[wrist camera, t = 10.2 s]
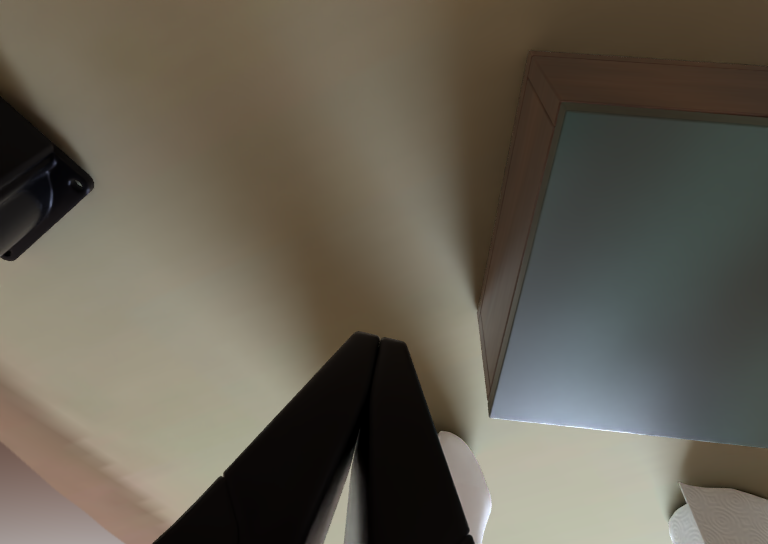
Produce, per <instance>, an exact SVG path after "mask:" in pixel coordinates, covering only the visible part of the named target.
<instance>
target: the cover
mask: <svg viewBox="0 0 768 544" xmlns="http://www.w3.org/2000/svg"><path fill="white" fill-rule="evenodd" d="M488 412H489V417H490V418H497V419H506V420H515V421H524V422H533V423H542V424H551V425H560V426H569V427H579V428H588V429H597V430H606V431H615V432H624V433H633V434H642V435H651V436H660V437H669V438H678V439H688V440H697V441H706V442H715V443H724V444H733V445H742V446H751V447H760V448H768V118H764V117H751V116H739V115H726V114H713V113H700V112H687V111H675V110H662V109H649V108H636V107H624V106H611V105H598V104H585V103H572V102H562V103H561V106H560V110H559V114H558V118H557V122H556V126H555V130H554V134H553V138H552V143H551V147H550V151H549V155H548V159H547V163H546V167H545V171H544V175H543V179H542V183H541V188H540V192H539V196H538V200H537V204H536V208H535V212H534V216H533V220H532V224H531V229H530V233H529V237H528V241H527V245H526V249H525V253H524V257H523V261H522V265H521V270H520V274H519V278H518V282H517V286H516V290H515V294H514V298H513V302H512V306H511V311H510V315H509V319H508V323H507V327H506V331H505V335H504V339H503V343H502V347H501V352H500V356H499V360H498V364H497V368H496V372H495V376H494V380H493V384H492V388H491V393H490V397H489V401H488Z"/></svg>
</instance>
